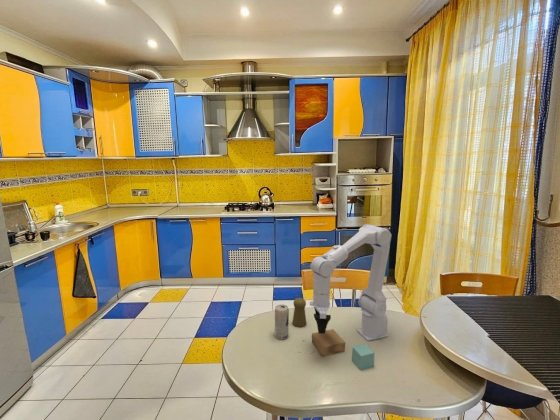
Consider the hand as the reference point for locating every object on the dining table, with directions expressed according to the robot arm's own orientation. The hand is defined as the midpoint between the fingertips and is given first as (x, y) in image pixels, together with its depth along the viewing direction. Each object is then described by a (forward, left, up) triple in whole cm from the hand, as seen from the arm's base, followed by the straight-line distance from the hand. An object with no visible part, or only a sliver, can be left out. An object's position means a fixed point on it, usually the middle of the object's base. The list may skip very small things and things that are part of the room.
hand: (320, 326), depth 108 cm
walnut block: (-4, -2, -10) cm, 11 cm away
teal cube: (-11, +10, -10) cm, 18 cm away
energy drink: (+10, -14, -10) cm, 20 cm away
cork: (0, -20, -10) cm, 22 cm away
